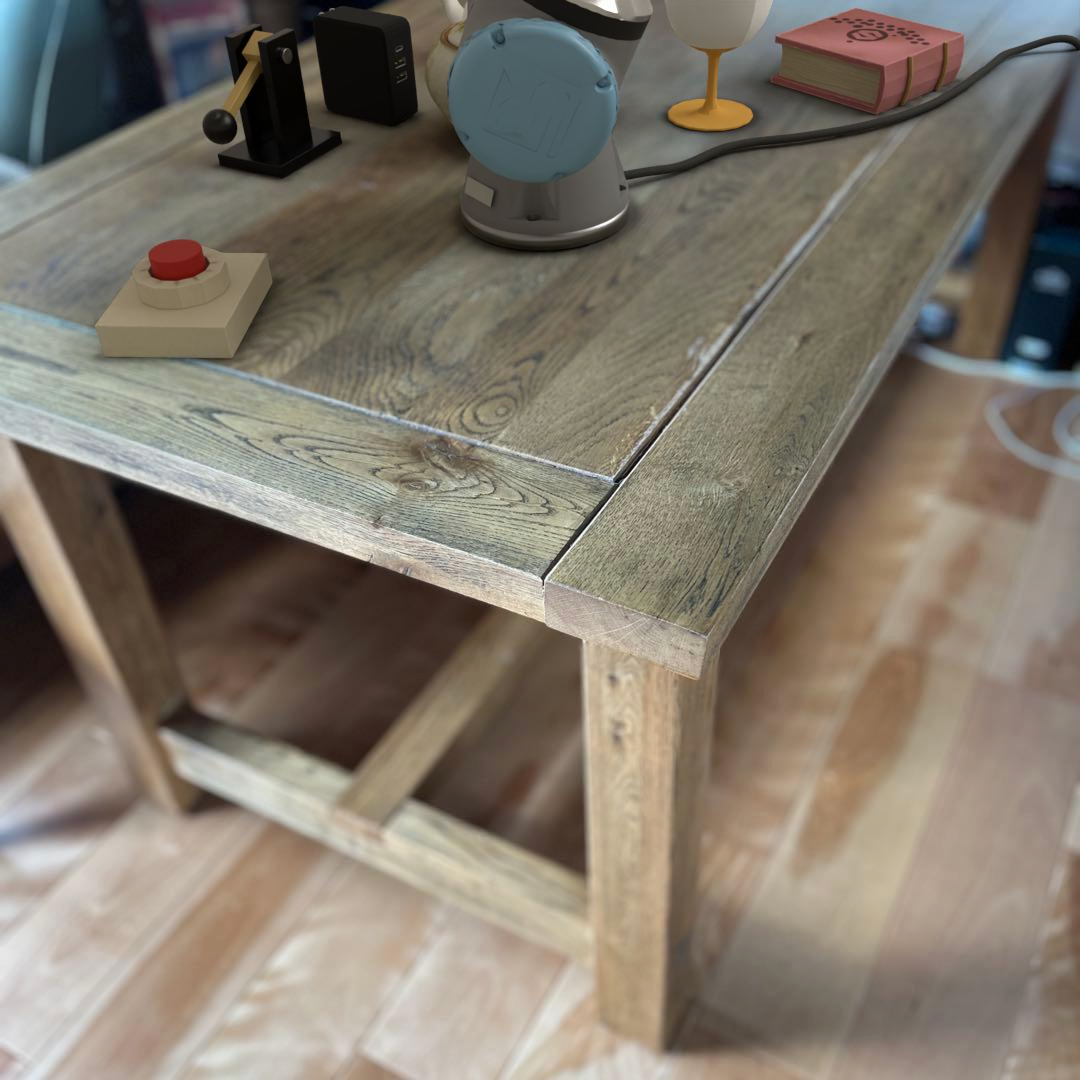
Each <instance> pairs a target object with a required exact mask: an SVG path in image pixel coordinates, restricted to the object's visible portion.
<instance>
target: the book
mask: <svg viewBox="0 0 1080 1080" xmlns="http://www.w3.org/2000/svg"><path fill="white" fill-rule="evenodd" d="M774 43H775V44H779V45H781V51H782V54H781V60H780V68H779V71H778V73H777V72H776V73H775V74H772V75H771V76H770V83H773V84H775V85H778V86H782V87H784V88H788V89H792V90H794V91H797V92H802V93H805V94H808V95H812V96H815V97H818V98H821V99H824V100H827V101H831V102H834V103H838V104H841V105H843V106H847V107H850V108H853V109H857V110H859V111H863V112H866V113H870V114H874V115H879V114H881V113H884V112H886V111H888V110H891V109H893V108H895V107H897V106H902V107H903V106H905V104H906V102H910V101H911V100H914V99H916V98H918V97H920V96H923V95H926V94H928V93H931V92H932V91H935V92H936V91H937V92H938V91H940V89H941V88H942V87H944V86H946V85H949V84H951V83H953V82H955V80H956V79H957V76H958V75H959V72H960V70H961V68H962V63H963V59H964V55H965V33H962V32H958V31H954V30H950V29H946V28H942V27H937V26H933V25H930V24H925V23H921V22H917V21H912V20H908V19H904V18H900V17H896V16H892V15H887V14H883V13H881V12H880V13H879V12H875V11H873V10H867V9H863V8H859V7H853V8H851V9H848V10H844V11H842V12H839V13H836V14H834V15H830V16H827V17H825V18H822V19H819V20H817V21H814V22H811V23H808V24H805V25H802V26H799V27H796V28H794V29H790V30H788V31H784V32H781V33H778V34H776V35H775V37H774Z"/></svg>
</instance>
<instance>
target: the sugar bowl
mask: <svg viewBox="0 0 1080 1080" xmlns="http://www.w3.org/2000/svg"><path fill="white" fill-rule="evenodd" d="M465 22H466V19H465V20H463V21H461V22H458V23H455V24H453V25H451V24H450V25H449V26H448V27H446V28H445V29H444V30H443V31H442V32H441V34H440V37H439V38H438V39H437V40H436V42H435V43H434V44H433V46H432V48H431V49H430V51H429V54H428V56H427V58H426V62H425V67H424V78H425V84H426V88H427V91H428V94H429V96H430V98H431V99H432V100H433V102H434V104H435V105H436V107H437V108H438V109H439V111H440V112H441V113H442V114H443V115H444V117H445V118H446V119H447V120H448V121H449V122H450V123H451V124H452V125H453V123H452V119H451V115H450V110H449V100H448V95H447V90H448V86H447V79H448V73H449V69H450V66H451V63H452V61H453V58H454V56H455V55H456V53H457V51H458V48H459V44H460V40H461V37H462V33H463V29H464V26H465Z"/></svg>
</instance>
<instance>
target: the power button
mask: <svg viewBox="0 0 1080 1080" xmlns="http://www.w3.org/2000/svg"><path fill="white" fill-rule="evenodd" d="M202 247H203V246H202V245H201V244H200V242H198V241H196V240H194V239H188V238H178V239H177V238H176V239H170V240H166V241H163V242H160V243H158V244H156V245H155V246H153V247H152V248H150V249H149V251H148V252H147V254H148V257H149V261H150V264H151V268H152V271H153V275H154V277H155V278H156V279H158V280H161V281H178V280H183V279H187V278H191V277H194V276H196V275H198V274H200V273H202V272H204V271H205V270H206V263H205V259H204V255H203V251H202Z"/></svg>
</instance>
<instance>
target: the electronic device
mask: <svg viewBox="0 0 1080 1080" xmlns="http://www.w3.org/2000/svg"><path fill="white" fill-rule="evenodd" d="M312 29H313V35H314V36H313V37H314V42H315V48H316V55H317V62H318V68H319V75H320V81H321V87H322V94H323V101H324V105H325V107H326V109H327V110H328V111H330V112H331V113H334V114H338V115H342V116H347V117H350V118H356V119H359V120H363V121H368V122H372V123H376V124H379V125H385V126H388V127H389V126H394V125H395V124H397V123H399V122H403V121H404V120H406V119H408V118H409V117H411V116H414V115H415V114H417V113H418V112H419V103H418V102H419V101H418V91H417V81H416V70H415V62H414V61H415V60H414V51H413V41H412V33H411V32H412V29H411V25H410V22H409V21H408V19H407V18H406V17H404V16H402V15H397V14H396V15H395V14H391V13H385V12H381V11H374V10H369V9H362V8H357V7H352V6H347V5H340V6H338V7H335V8H334V7H333V8H332V7H331V8H329V9H328V11H325V12H322V11H320V12H319V13H318V14H317V15H315V16H314V17H313V18H312Z"/></svg>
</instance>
